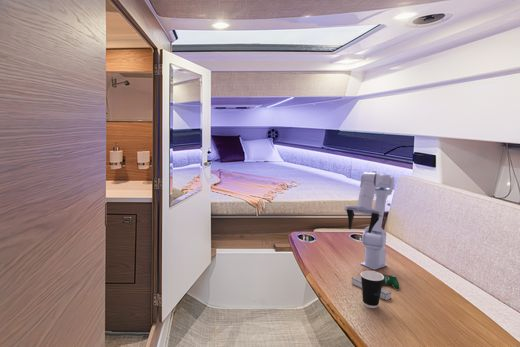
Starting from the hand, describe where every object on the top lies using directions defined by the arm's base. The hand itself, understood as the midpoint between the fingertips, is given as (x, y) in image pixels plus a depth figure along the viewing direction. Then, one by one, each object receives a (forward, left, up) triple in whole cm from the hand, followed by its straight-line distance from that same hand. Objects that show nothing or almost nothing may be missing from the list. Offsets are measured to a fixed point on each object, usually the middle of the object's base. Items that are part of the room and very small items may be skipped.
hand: (359, 230), depth 124 cm
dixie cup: (+7, +12, -23) cm, 27 cm away
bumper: (-2, +5, -23) cm, 24 cm away
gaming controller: (-11, +5, -24) cm, 27 cm away
